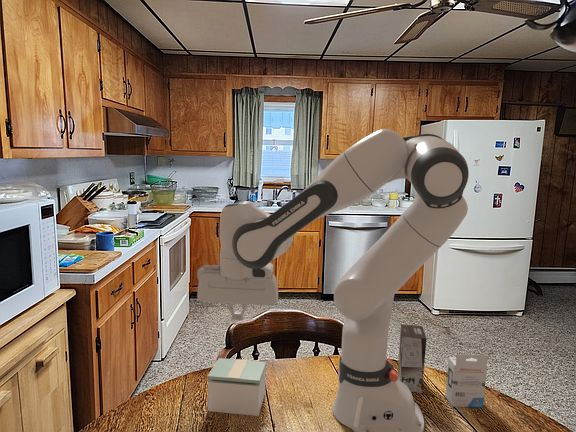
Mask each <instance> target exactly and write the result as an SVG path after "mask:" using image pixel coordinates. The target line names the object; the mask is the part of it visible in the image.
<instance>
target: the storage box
mask: <svg viewBox="0 0 576 432" xmlns="http://www.w3.org/2000/svg"><path fill="white" fill-rule="evenodd" d="M266 374H267V366H266V367H265V369H264V372H263V375H262V378H261V380H260V383H259V384H258V383H246V382H235V381H223V380H212V379H208V380H207V411H208V412H214V413H224V414H225V413H226V414H233V415H234V414H235V415H242V416H243V415H244V416H254V417H259V415H260V413H261V408H262V406H263V402H264V399H265V396H266V386H267V385H266V384H267V383H266V379H267V377H266V376H267V375H266Z"/></svg>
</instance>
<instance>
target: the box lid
mask: <svg viewBox="0 0 576 432" xmlns="http://www.w3.org/2000/svg"><path fill="white" fill-rule="evenodd" d="M265 367H266V368H267V361H258V360H249V359H240V358H237V359H234V358H221V357H219V358H218V359H217V360H216V361H215V363H214V365H213V367H212V368H211V370H210V371H209V373H208V375H207V377H206V379H207V380H209V379H212V380H223V381H235V382H246V383H258V384H259V383H260V380H261V378H262V375H263V372H264V369H265Z"/></svg>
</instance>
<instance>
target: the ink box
mask: <svg viewBox="0 0 576 432" xmlns="http://www.w3.org/2000/svg"><path fill="white" fill-rule="evenodd" d="M487 364H488V355H487V354H456V355H455V357H454V356H448V359H447V370H446V386H445V395H444V397H445V398H446V399H447V401H448V403H449V404H450V406H451V407H457V408H484V404H485V403H484V401H485V393H486V392H485V391H486V383H487V382H486V381H487V374H488V373H487V372H488V366H487Z"/></svg>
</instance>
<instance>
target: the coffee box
mask: <svg viewBox="0 0 576 432" xmlns="http://www.w3.org/2000/svg"><path fill="white" fill-rule="evenodd" d="M399 329H400V332H399V344H398V347H399V348H398V349H399V350H398V362H397V363H398V364H397V376H398V379H399V380H400V381H401V382H403V383H404V384H405V385H406V386H407V387H408V388H409V390H410V392H411V393H412V392H413V393H419V394H422V393H423V385H424V373H425V372H424V371H425V363H426V362H425V361H426V349H427V340H428V338H427V336H426V333H425V331H424V327H423V326H422V325H417V324H416V325H415V324H413V325H412V324H400V328H399Z"/></svg>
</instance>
